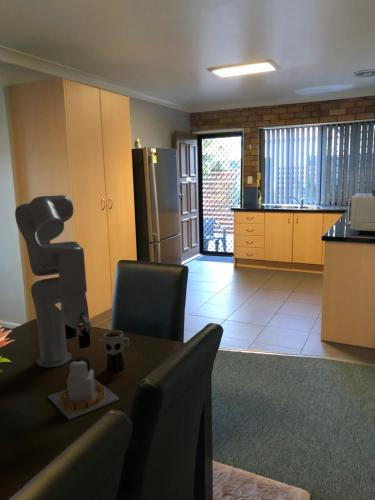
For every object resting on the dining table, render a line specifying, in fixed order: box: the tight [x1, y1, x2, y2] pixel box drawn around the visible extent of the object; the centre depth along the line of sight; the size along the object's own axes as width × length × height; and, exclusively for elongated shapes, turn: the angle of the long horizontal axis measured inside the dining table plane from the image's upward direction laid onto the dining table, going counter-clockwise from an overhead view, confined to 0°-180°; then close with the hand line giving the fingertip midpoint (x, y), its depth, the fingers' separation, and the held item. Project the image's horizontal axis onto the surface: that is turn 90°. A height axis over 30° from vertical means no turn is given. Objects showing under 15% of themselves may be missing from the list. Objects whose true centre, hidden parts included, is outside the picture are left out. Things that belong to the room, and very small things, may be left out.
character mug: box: [97, 329, 130, 372], centre depth 147 cm, size 11×7×13 cm, turn 94°
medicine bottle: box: [66, 356, 95, 403], centre depth 127 cm, size 7×7×12 cm
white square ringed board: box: [47, 378, 120, 421], centre depth 128 cm, size 16×16×2 cm
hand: (78, 342), depth 125 cm, fingers open, 9 cm apart
